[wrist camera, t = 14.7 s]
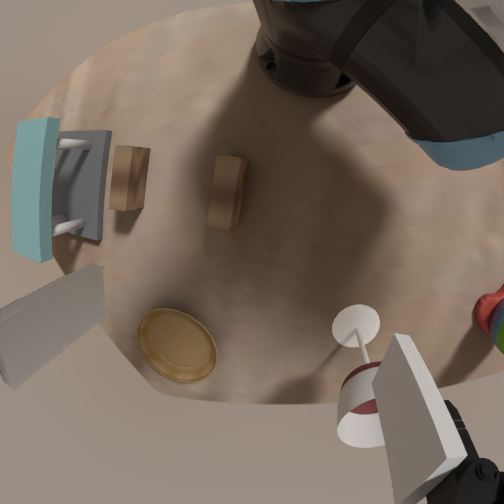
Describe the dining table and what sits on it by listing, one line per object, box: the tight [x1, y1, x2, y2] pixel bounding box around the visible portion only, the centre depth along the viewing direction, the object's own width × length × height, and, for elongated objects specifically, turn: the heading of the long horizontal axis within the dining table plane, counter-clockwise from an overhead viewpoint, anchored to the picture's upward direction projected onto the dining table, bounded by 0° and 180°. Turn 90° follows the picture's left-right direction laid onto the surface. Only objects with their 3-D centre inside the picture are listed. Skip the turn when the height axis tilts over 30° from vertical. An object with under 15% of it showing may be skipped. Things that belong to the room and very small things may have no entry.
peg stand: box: [51, 130, 112, 240], centre depth 38 cm, size 18×12×10 cm, turn 170°
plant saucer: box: [136, 308, 218, 383], centre depth 46 cm, size 15×15×3 cm
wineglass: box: [332, 304, 385, 448], centre depth 31 cm, size 8×9×20 cm
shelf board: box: [11, 117, 60, 263], centre depth 32 cm, size 20×8×2 cm, turn 170°
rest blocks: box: [109, 146, 249, 231], centre depth 38 cm, size 9×18×5 cm, turn 80°
